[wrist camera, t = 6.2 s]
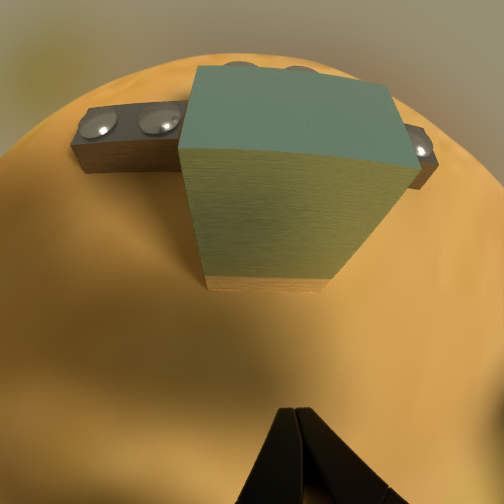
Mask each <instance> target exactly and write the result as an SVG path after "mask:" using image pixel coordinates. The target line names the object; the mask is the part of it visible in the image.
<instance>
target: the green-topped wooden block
mask: <svg viewBox="0 0 504 504" xmlns="http://www.w3.org/2000/svg"><path fill="white" fill-rule="evenodd" d="M178 152H179V158H180V163H181V169H182V174H183V179H184V184H185V189H186V194H187V199H188V204H189V209H190V213H191V218H192V223H193V227H194V232H195V237H196V241H197V246H198V250H199V255H200V259H201V263H202V268H203V272H204V276H205V280H206V284H207V289H208V290H216V291H247V292H297V293H320V292H321V290H322V289H323V288H324V287H325V286H326V285H327V284H328V283H329V282H330V281H331V279H332V278H333V277H334V276H335V275H336V274H337V273H338V272H339V270H340V269H341V268H342V267H343V266H344V265H345V264H346V262H347V261H348V260H349V259H350V258H351V257H352V256H353V254H354V253H355V252H356V251H357V250H358V249H359V247H360V246H361V245H362V244H363V243H364V241H365V240H366V239H367V238H368V237H369V235H370V234H371V233H372V232H373V231H374V229H375V228H376V227H377V226H378V225H379V223H380V222H381V221H382V220H383V218H384V217H385V216H386V215H387V214H388V212H389V211H390V210H391V209H392V207H393V206H394V205H395V203H396V202H397V201H398V200H399V198H400V197H401V196H402V195H403V193H404V192H405V191H406V189H407V188H408V187H409V186H410V184H411V183H412V182H413V180H414V179H415V178H416V176H417V175H418V174H419V172H420V171H421V170H422V169H421V166H420V163H419V161H418V158H417V155H416V153H415V150H414V148H413V145H412V143H411V140H410V138H409V135H408V133H407V130H406V128H405V126H404V123H403V121H402V119H401V117H400V114H399V112H398V110H397V108H396V106H395V103H394V101H393V99H392V97H391V95H390V93H389V91H388V89H387V87H386V86H383V85H379V84H375V83H370V82H366V81H361V80H356V79H350V78H345V77H339V76H333V75H327V74H321V73H318V72H316V71H315V70H313V69H310V68H307V67H303V66H291V67H287V68H286V69H278V68H265V67H258V66H256V65H254V64H252V63H249V62H242V61H237V62H230V63H227V64H225V65H223V66H198V68H197V71H196V75H195V78H194V82H193V86H192V90H191V94H190V98H189V102H188V106H187V110H186V114H185V118H184V122H183V127H182V131H181V136H180V140H179V145H178Z"/></svg>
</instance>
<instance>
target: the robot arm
mask: <svg viewBox="0 0 504 504" xmlns="http://www.w3.org/2000/svg"><path fill="white" fill-rule="evenodd" d="M388 487H389V485H388V484H387V483H385V482H384V481H383V480H382V479H381V478H380V477H379V476H378V475H377V474H376V473H375V472H374V471H373V470H372V469H371V468H370V467H369V466H368V465H367V464H366V463H365V462H364V461H363V460H362V459H361V458H360V457H359V456H358V455H357V454H356V453H355V452H354V451H353V450H352V449H351V448H350V447H349V446H348V445H347V444H346V443H345V442H344V441H343V440H342V439H341V438H340V437H339V436H338V435H337V434H336V433H335V432H334V431H333V430H332V429H331V428H330V427H329V426H328V425H327V424H326V423H325V422H324V421H323V420H322V419H321V418H320V417H319V415H318V414H317V413H316V412H315V411H314V410H313V409H312V408H310V407H298V408H296V409H294V408H279V409H278V411H277V413H276V416H275V418H274V421H273V423H272V425H271V428H270V430H269V432H268V434H267V437H266V439H265V441H264V444H263V446H262V448H261V450H260V452H259V455H258V457H257V459H256V461H255V463H254V466H253V468H252V470H251V472H250V474H249V476H248V478H247V480H246V482H245V484H244V487H243V489H242V491H241V493H240V495H239V497H238V499H237V501H236V502H235V504H409V503H408V502H407V501H405V500H404V499H403V498H402V497H401V496H400V495H399V494H397V493H396V492H395V491H394V490H393V489H392V488H391V487H390V488H388Z"/></svg>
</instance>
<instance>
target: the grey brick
mask: <svg viewBox="0 0 504 504" xmlns="http://www.w3.org/2000/svg"><path fill="white" fill-rule="evenodd" d="M187 106H188V105H187V101H168V102H149V103H135V104H123V105H113V106H104V107H96V108H89V109H88V111H87V113H86V115H85V116H84V117H83V118H82V119H81V120H80V122H79V125H78V130H77V132H76V135H75V137H74V139H73V141H72V143H71V145H70V146H71V147H72V149H73V151H74V153H75V155H76V157H77V159H78V160H79V162H80V164H81V166H82V168H83V169H84V171H85V173H103V172H130V171H182V169H181V163H180V158H179V152H178V145H179V140H180V136H181V131H182V127H183V122H184V118H185V114H186V110H187ZM404 126H405V128H406V130H407V133H408V135H409V138H410V140H411V143H412V145H413V148H414V150H415V153H416V155H417V158H418V161H419V163H420V166H421V169H422V170H421V171H420V172H419V174H418V175H417V176H416V178H415V179H414V180H413V182H412V183H411V184H410V186H409V187H408V188H412V189H419V190H420V189H421V187H422V186H423V185H424V184H425V182H426V181H427V180H428V179H429V177H430V176H431V175H432V174H433V172H434V171H435V170H436V169H437V167H438V166H439V164H438V161H437V159H436V156H435V154H434V152H433V144H432V141H431V139H430V138H429V137H428V135H427V134H426V133H425V131H424V129H423V128H421V127H417V126H413V125H408V124H404Z"/></svg>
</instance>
